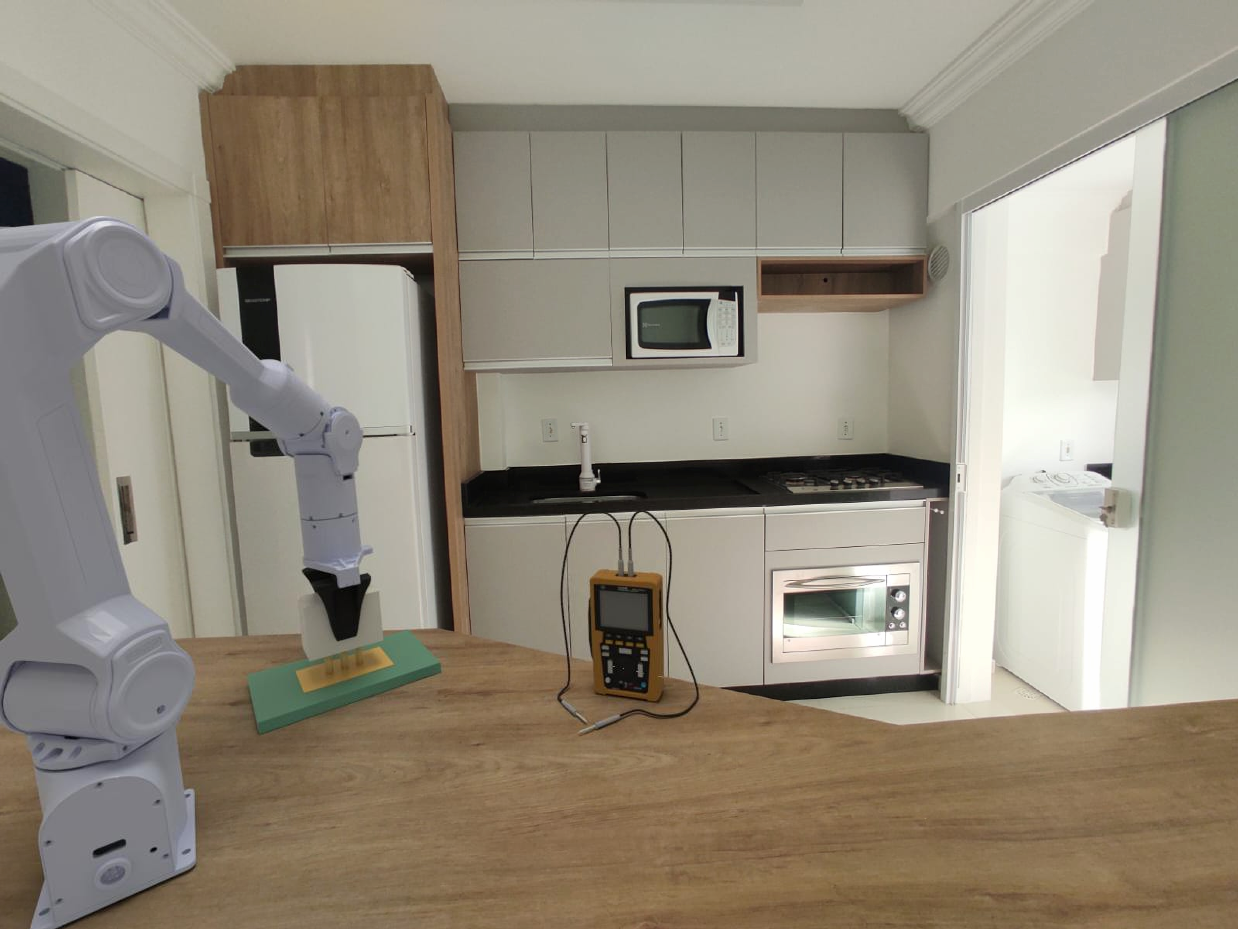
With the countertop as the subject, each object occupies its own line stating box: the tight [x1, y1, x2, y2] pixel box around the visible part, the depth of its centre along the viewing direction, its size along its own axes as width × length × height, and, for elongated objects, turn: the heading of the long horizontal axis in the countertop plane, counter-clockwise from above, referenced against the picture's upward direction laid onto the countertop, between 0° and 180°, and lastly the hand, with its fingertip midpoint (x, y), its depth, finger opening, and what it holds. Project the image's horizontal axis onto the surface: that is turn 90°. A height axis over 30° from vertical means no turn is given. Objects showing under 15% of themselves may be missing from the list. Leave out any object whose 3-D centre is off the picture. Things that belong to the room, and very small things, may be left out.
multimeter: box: [556, 509, 700, 734], centre depth 54 cm, size 15×10×20 cm
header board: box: [246, 629, 442, 735], centre depth 63 cm, size 12×18×4 cm, turn 128°
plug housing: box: [296, 582, 384, 662], centre depth 62 cm, size 4×8×6 cm, turn 128°
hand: (341, 630), depth 62 cm, fingers closed on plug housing, 4 cm apart
